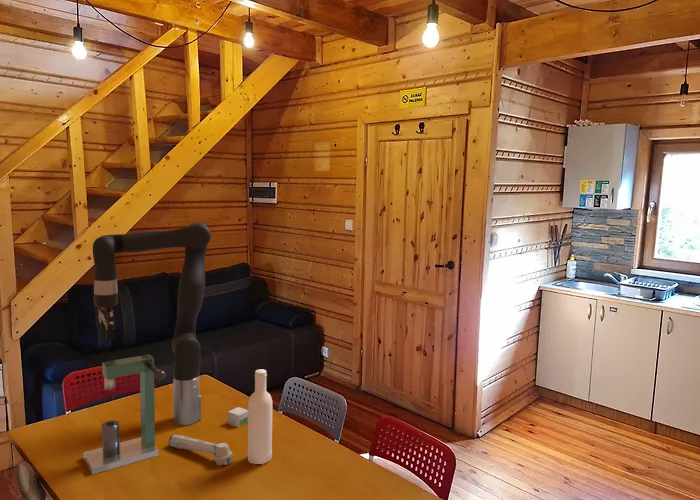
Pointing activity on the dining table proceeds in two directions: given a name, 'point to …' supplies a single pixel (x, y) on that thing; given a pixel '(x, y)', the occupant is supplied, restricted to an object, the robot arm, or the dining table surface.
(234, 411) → the small box
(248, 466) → the dining table surface
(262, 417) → the bottle
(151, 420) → the press
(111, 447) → the cylinder
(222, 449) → the white handheld tool
